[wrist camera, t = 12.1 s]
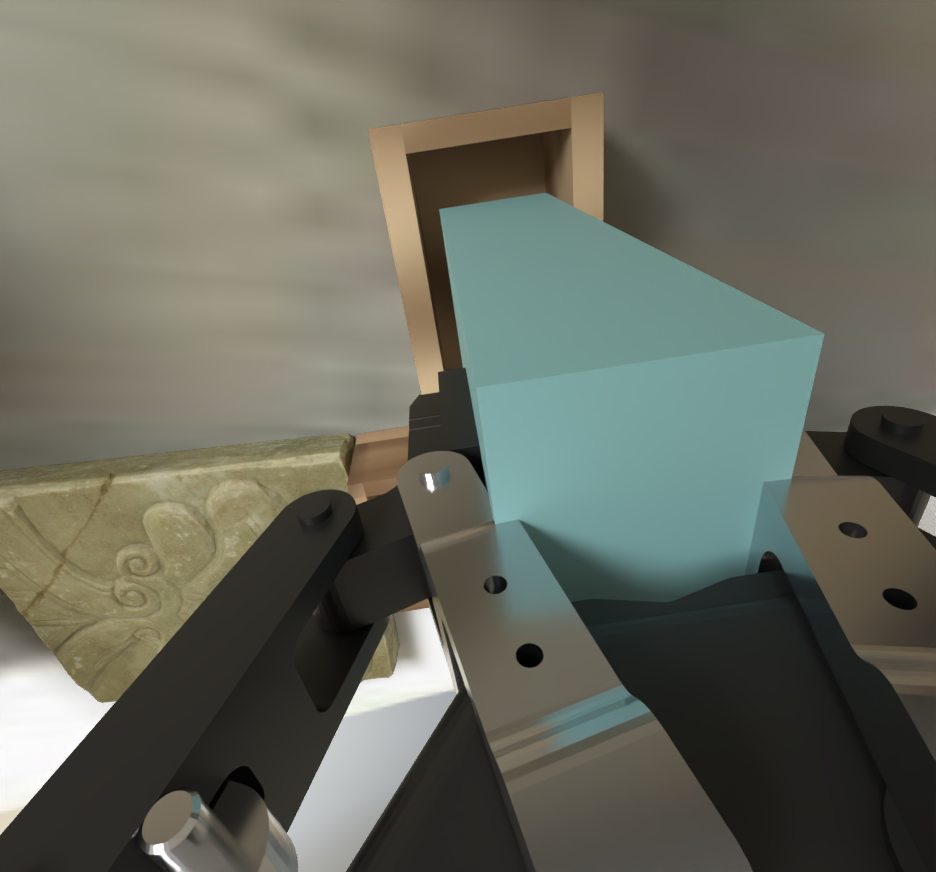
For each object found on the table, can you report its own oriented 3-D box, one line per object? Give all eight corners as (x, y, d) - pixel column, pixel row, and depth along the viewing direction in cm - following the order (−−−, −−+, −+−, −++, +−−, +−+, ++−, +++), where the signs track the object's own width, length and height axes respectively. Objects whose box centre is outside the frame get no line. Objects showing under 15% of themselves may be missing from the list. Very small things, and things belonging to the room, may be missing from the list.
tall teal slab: (438, 208, 17) (475, 387, 5) (545, 192, 17) (824, 334, 5) (467, 395, 21) (526, 754, 9) (555, 381, 21) (735, 722, 9)
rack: (357, 434, 27) (346, 485, 24) (651, 388, 27) (688, 432, 24) (392, 554, 32) (388, 613, 28) (643, 515, 32) (674, 569, 28)
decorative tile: (-29, 465, 27) (-85, 508, 24) (353, 423, 28) (344, 460, 25) (124, 680, 37) (97, 730, 34) (404, 646, 37) (403, 693, 34)
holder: (380, 127, 20) (367, 129, 16) (561, 98, 20) (603, 91, 16) (431, 393, 27) (433, 452, 22) (570, 371, 26) (602, 425, 22)
